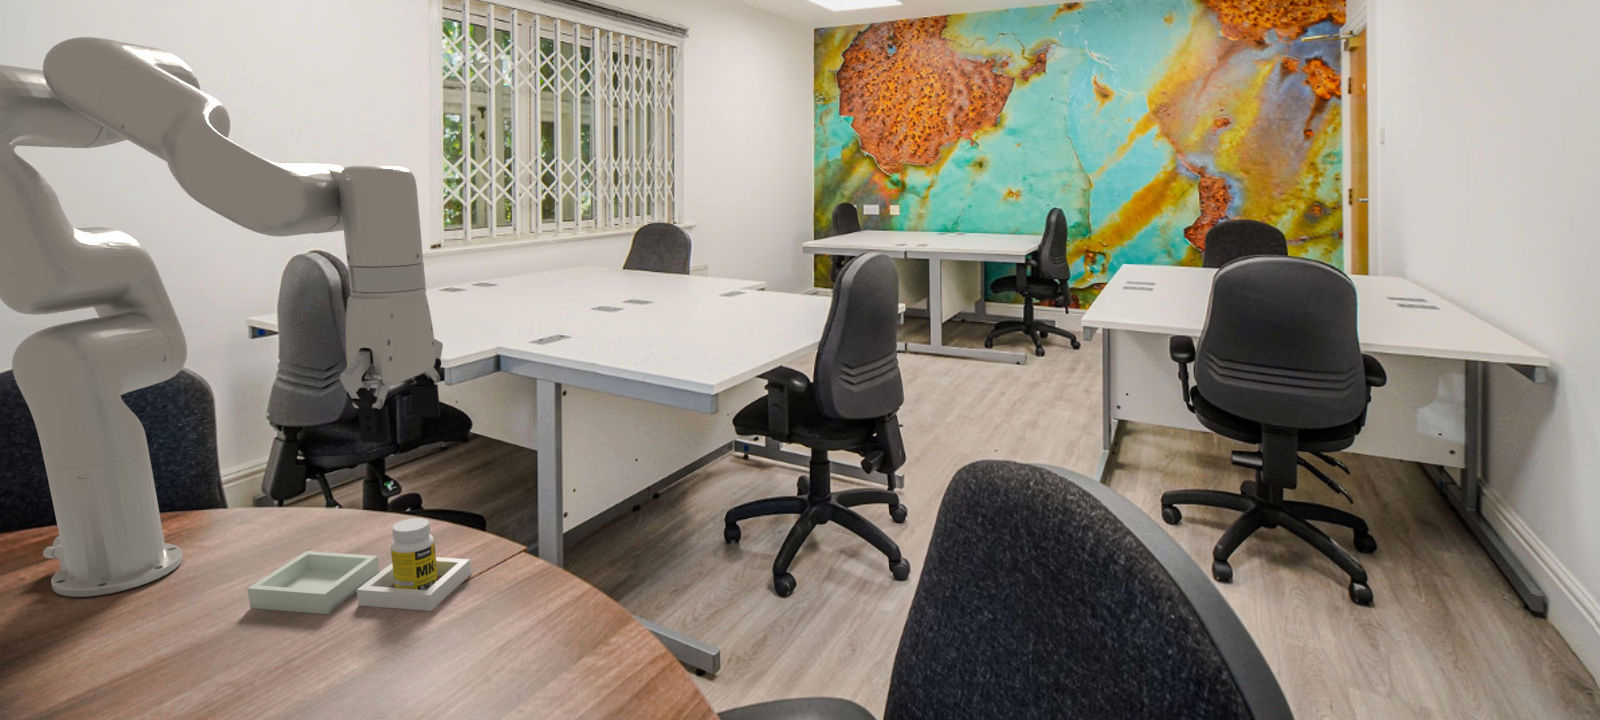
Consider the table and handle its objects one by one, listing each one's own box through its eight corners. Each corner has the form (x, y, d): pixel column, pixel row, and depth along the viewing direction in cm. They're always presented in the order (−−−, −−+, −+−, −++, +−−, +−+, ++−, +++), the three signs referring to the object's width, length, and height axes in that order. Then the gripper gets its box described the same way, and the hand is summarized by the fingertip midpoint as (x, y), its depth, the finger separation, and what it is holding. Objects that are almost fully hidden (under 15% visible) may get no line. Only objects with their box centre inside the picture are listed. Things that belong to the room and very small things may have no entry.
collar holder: (358, 605, 95) (356, 589, 95) (404, 569, 104) (402, 554, 103) (431, 611, 94) (429, 595, 93) (471, 574, 103) (470, 559, 102)
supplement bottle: (421, 601, 96) (415, 534, 94) (386, 597, 97) (379, 531, 95) (446, 582, 101) (440, 518, 99) (412, 578, 102) (406, 514, 100)
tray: (250, 608, 94) (247, 588, 94) (309, 569, 103) (306, 551, 103) (327, 614, 93) (324, 594, 92) (379, 574, 102) (377, 556, 102)
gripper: (402, 270, 99) (415, 406, 103) (300, 290, 82) (320, 451, 86) (460, 272, 98) (472, 409, 102) (369, 292, 82) (387, 454, 85)
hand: (402, 428), depth 94 cm, fingers open, 9 cm apart
